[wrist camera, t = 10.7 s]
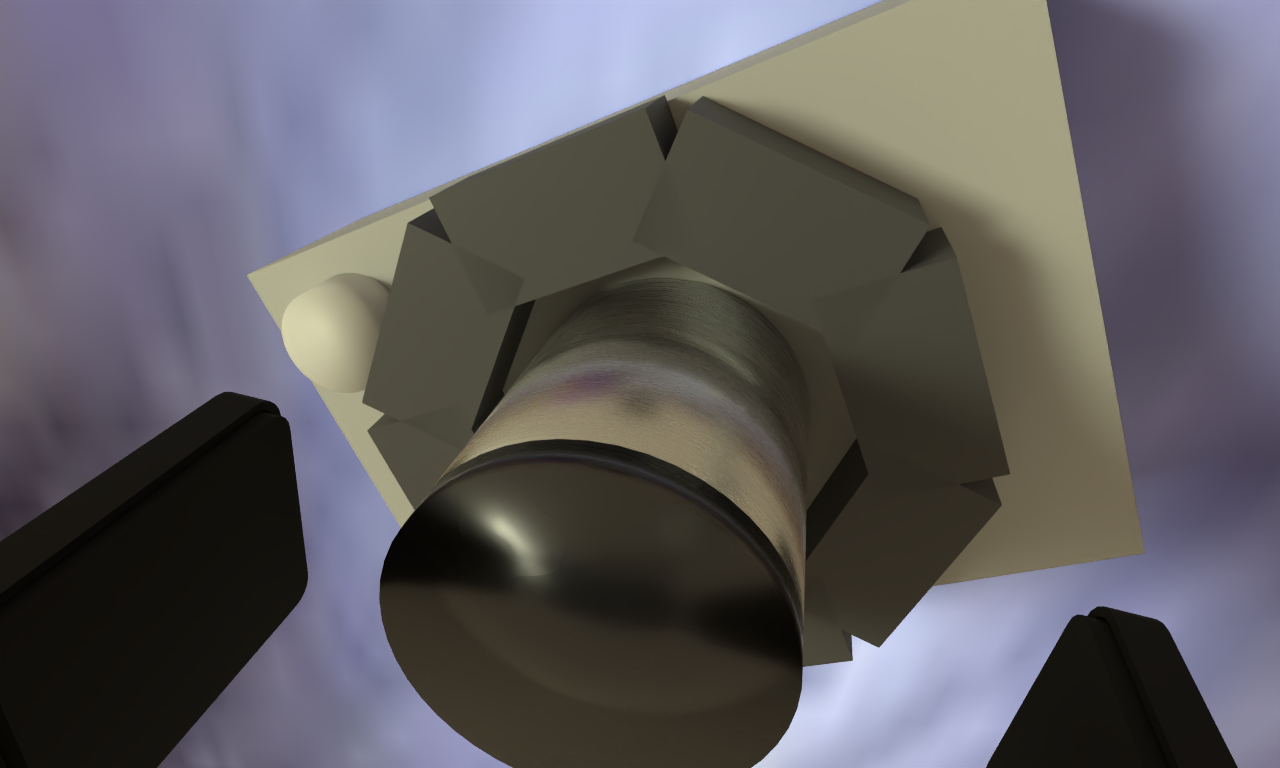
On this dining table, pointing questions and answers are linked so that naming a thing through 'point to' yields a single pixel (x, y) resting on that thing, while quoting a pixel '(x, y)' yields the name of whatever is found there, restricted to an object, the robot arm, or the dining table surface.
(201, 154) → the dining table surface
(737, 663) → the lens
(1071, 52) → the dining table surface
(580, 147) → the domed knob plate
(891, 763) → the dining table surface
